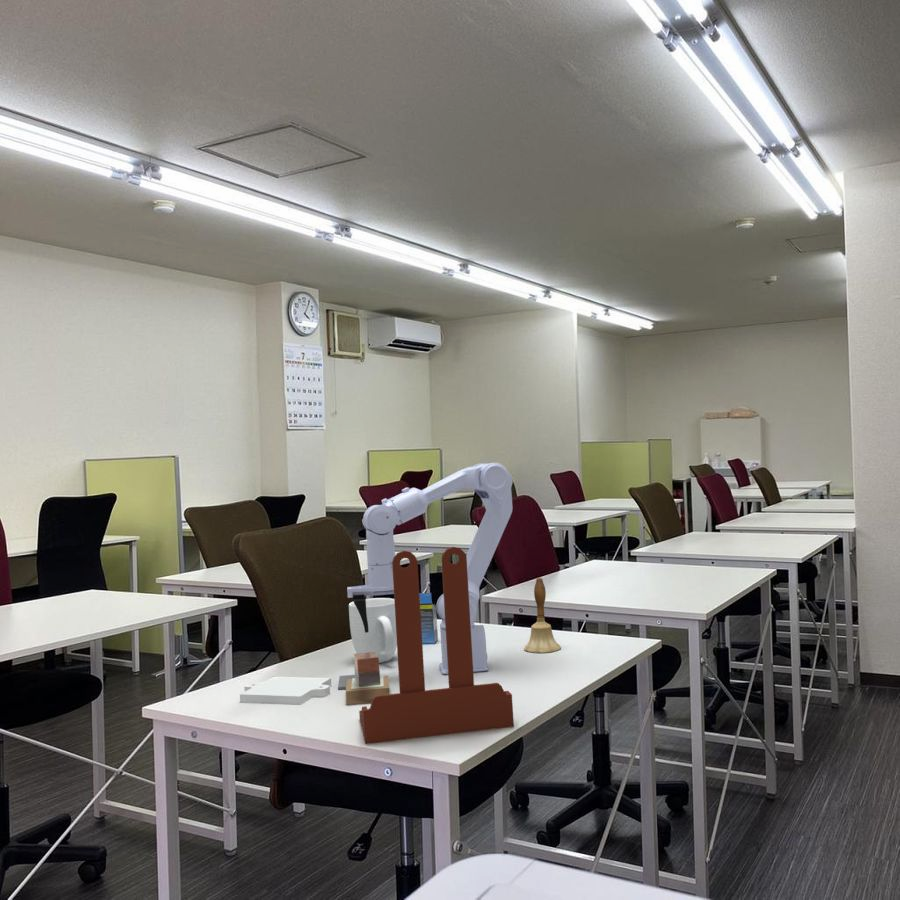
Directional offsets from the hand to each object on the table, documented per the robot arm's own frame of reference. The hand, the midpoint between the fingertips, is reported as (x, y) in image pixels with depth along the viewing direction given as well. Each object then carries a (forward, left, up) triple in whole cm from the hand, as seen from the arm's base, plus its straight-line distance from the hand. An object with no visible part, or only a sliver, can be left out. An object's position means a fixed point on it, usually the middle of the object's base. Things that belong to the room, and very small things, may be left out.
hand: (385, 630), depth 173 cm
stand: (+4, +12, -10) cm, 16 cm away
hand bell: (-35, -15, -10) cm, 39 cm away
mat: (+6, +1, -10) cm, 12 cm away
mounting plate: (+20, +5, -10) cm, 23 cm away
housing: (+4, +12, -7) cm, 14 cm away
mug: (+2, -16, -10) cm, 19 cm away
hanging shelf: (-7, +32, -10) cm, 34 cm away
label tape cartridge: (-8, -32, -10) cm, 35 cm away
